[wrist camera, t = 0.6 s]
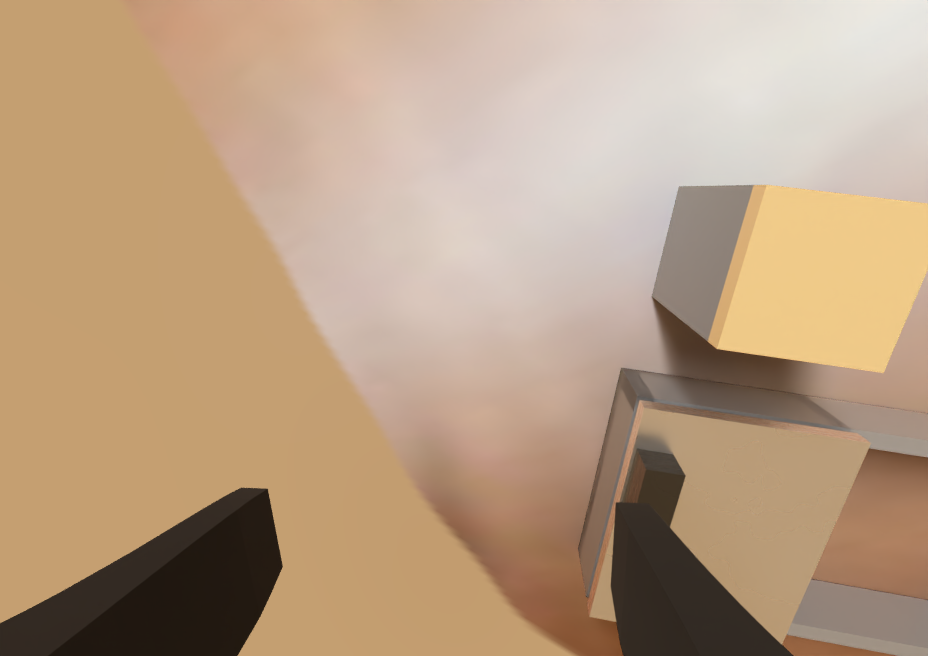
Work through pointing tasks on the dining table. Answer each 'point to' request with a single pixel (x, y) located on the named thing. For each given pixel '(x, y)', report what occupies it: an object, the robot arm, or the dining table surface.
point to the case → (824, 604)
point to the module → (794, 271)
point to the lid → (737, 500)
